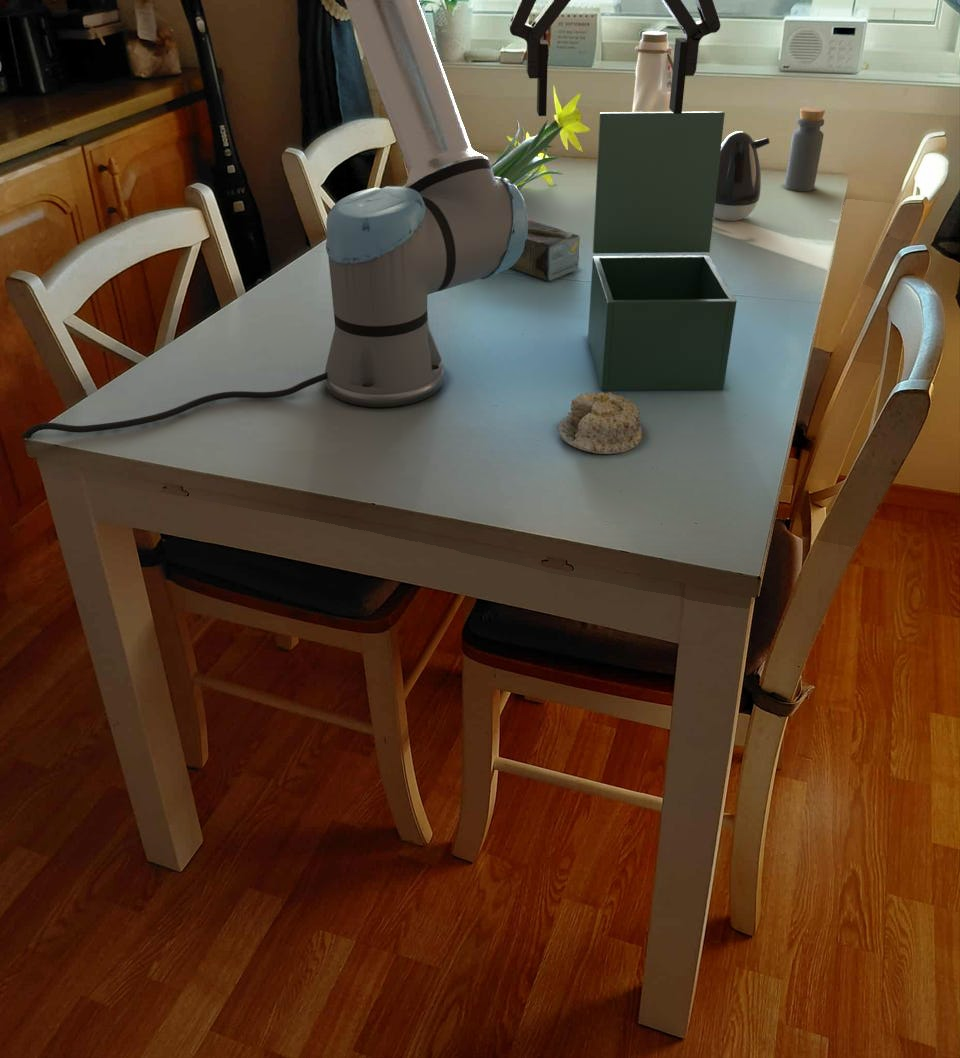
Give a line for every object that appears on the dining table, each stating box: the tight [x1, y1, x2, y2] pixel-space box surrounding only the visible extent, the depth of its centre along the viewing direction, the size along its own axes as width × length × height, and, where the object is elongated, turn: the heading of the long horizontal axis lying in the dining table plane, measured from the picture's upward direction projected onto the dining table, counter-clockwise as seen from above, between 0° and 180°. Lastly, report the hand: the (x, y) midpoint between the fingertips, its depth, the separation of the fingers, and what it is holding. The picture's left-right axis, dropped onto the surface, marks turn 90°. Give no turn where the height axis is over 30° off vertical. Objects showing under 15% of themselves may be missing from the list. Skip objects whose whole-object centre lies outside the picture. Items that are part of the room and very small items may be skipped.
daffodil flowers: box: [490, 84, 591, 191], centre depth 192 cm, size 17×15×35 cm
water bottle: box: [631, 30, 675, 112], centre depth 196 cm, size 10×9×28 cm
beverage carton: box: [509, 218, 581, 282], centre depth 162 cm, size 8×19×7 cm, turn 45°
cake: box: [557, 391, 643, 455], centre depth 114 cm, size 10×10×5 cm
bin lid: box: [592, 111, 726, 254], centre depth 127 cm, size 17×16×1 cm
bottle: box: [784, 106, 826, 192], centre depth 196 cm, size 6×6×15 cm
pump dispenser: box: [713, 131, 770, 222], centre depth 180 cm, size 10×10×15 cm
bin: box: [587, 254, 738, 392], centre depth 128 cm, size 17×16×12 cm
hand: (608, 112), depth 99 cm, fingers open, 13 cm apart
